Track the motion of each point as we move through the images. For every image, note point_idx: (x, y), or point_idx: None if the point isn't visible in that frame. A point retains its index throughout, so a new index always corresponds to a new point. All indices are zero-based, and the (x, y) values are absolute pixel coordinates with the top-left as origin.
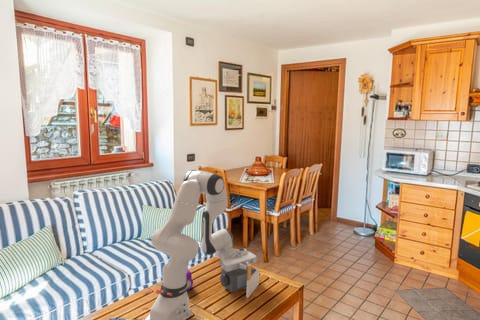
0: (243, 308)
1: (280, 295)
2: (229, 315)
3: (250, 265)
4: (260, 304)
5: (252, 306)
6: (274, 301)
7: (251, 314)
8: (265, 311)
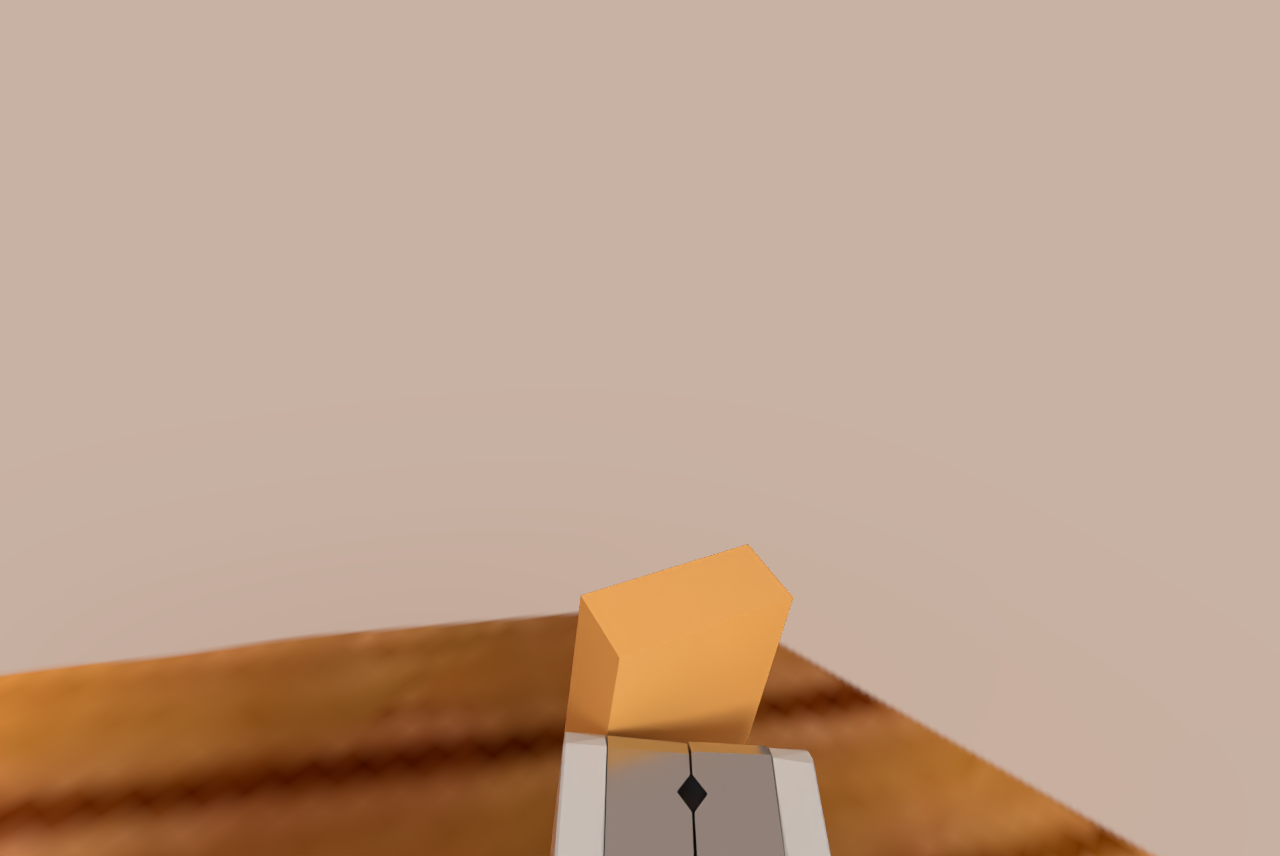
0: (867, 848)
1: (104, 743)
2: (1134, 844)
3: (671, 576)
4: None
5: None
6: (341, 695)
7: (825, 687)
8: None
